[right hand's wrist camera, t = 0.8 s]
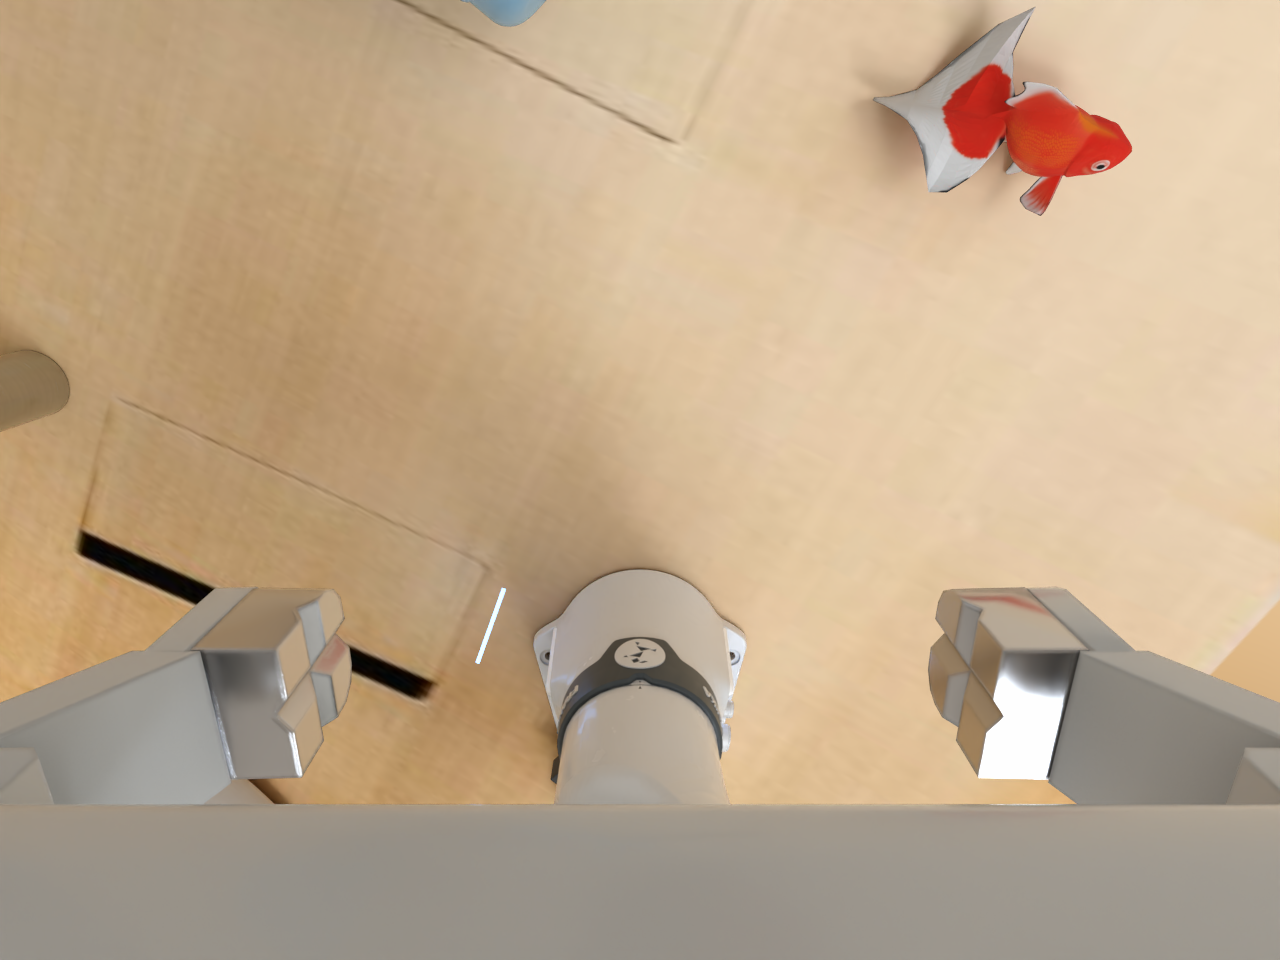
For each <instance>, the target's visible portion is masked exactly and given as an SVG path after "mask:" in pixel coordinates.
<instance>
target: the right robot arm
mask: <svg viewBox="0 0 1280 960" xmlns="http://www.w3.org/2000/svg"><path fill="white" fill-rule="evenodd" d="M505 590H506V589H504V588H502V590H501V593H500V595H499V598H498V601H497V604H496V607H495V610H494V612H493V615H492V618H491V621H490V624H489V626H488V629H487V632H486V635H485V638H484V640H483V643H482V646H481V649H480V652H479V655H478V657H477V660H476V663H478V664H479V663H480V660H481V657H482V654H483V652H484V649H485V646H486V643H487V640H488V638H489V635H490V632H491V629H492V626H493V624H494V621H495V618H496V615H497V612H498V610H499V607H500V604H501V601H502V598H503V596H504V593H505ZM344 619H345V618H344V613H343V608H342V603H341V598H340V596H339V595H338V594H337V592H336V591H335V590H334V589H307V588H258V587H232V588H216V589H214V590H213V591H212V592H211V593H210V594H208V595H207V596H206V597H205V598H204V599H203V600H202V601H200V602H199V603H198V604H197V605H196V606H195V607H194V608H193V609H191V610H190V611H189V612H188V613H187V614H186V615H185V616H183V617H182V618H181V619H180V620H179V621H178V622H177V623H175V624H174V625H173V626H172V627H171V628H170V629H169V630H168V631H166V632H165V633H164V634H163V635H162V636H161V637H160V638H158V639H157V640H156V641H155V642H154V643H153V644H152V645H151V646H149V647H148V648H147V649H146V650H145V651H131V652H128V653H125V654H123V655H120V656H118V657H115V658H113V659H110V660H108V661H105V662H103V663H100V664H98V665H95V666H92V667H90V668H87V669H85V670H82V671H80V672H77V673H75V674H72V675H70V676H67V677H65V678H62V679H59V680H57V681H54V682H52V683H49V684H47V685H44V686H42V687H39V688H37V689H34V690H31V691H29V692H26V693H24V694H21V695H19V696H16V697H14V698H11V699H9V700H6V701H4V702H1V703H0V960H1280V703H1279V702H1276V701H1274V700H1271V699H1268V698H1266V697H1263V696H1261V695H1258V694H1256V693H1253V692H1251V691H1248V690H1246V689H1243V688H1241V687H1238V686H1236V685H1233V684H1230V683H1228V682H1225V681H1223V680H1220V679H1218V678H1215V677H1213V676H1210V675H1208V674H1205V673H1203V672H1200V671H1198V670H1195V669H1193V668H1190V667H1187V666H1185V665H1182V664H1180V663H1177V662H1175V661H1172V660H1170V659H1167V658H1165V657H1162V656H1160V655H1157V654H1155V653H1152V652H1149V651H1135V650H1134V649H1133V648H1132V647H1131V646H1130V645H1128V644H1127V643H1126V642H1125V641H1124V640H1123V639H1122V638H1121V637H1119V636H1118V635H1117V634H1116V633H1115V632H1114V631H1113V630H1111V629H1110V628H1109V627H1108V626H1107V625H1106V624H1105V623H1104V622H1102V621H1101V620H1100V619H1099V618H1098V617H1097V616H1096V615H1094V614H1093V613H1092V612H1091V611H1090V610H1089V609H1088V608H1087V607H1085V606H1084V605H1083V604H1082V603H1081V602H1080V601H1079V600H1078V599H1076V598H1075V597H1074V596H1073V595H1072V594H1071V593H1070V592H1068V591H1067V590H1066V589H1063V588H1059V587H1037V588H1025V587H1020V588H978V589H951V590H945V591H943V593H942V595H941V597H940V599H939V602H938V606H937V612H936V618H935V619H936V621H937V622H938V624H939V625H940V627H941V628H942V630H943V631H944V634H943V635H942V636H941V637H940V638H939V639H938V641H937V642H936V643H935V644H934V645H933V646H932V647H931V650H930V658H929V666H928V673H929V683H930V691H931V694H932V697H933V700H934V703H935V705H936V707H937V709H938V711H939V712H940V714H941V716H942V717H943V718H944V719H946V720H948V721H949V722H951V723H953V724H954V725H956V726H957V727H958V732H957V738H956V741H957V743H958V745H959V746H960V748H961V749H962V751H963V753H964V754H965V756H966V758H967V759H968V761H969V763H970V764H971V766H972V768H973V769H974V771H975V773H976V774H977V776H978V778H1009V779H1046V780H1049V781H1048V783H1050V784H1051V785H1052V786H1054V787H1055V788H1056V789H1058V790H1059V791H1060V792H1062V793H1063V794H1064V795H1066V796H1067V797H1069V798H1070V799H1071V800H1073V801H1074V802H1075V803H1077V804H730V801H729V798H728V794H727V790H726V787H725V783H724V778H723V774H722V769H721V763H720V759H721V755H722V752H726V751H728V749H729V745H730V738H731V730H730V726H729V725H728V724H725V720H726V718H732V716H733V712H734V703H733V701H731V700H732V696H733V693H734V689H735V686H736V682H737V679H738V675H739V672H740V668H741V665H742V662H743V658H744V655H745V651H746V646H747V644H746V636H745V634H744V633H743V632H742V631H741V630H740V629H739V628H737V627H736V626H734V625H733V624H731V623H729V622H728V621H726V620H724V619H722V618H721V617H720V616H719V615H718V614H717V613H716V611H715V610H714V609H713V607H712V606H711V604H710V603H709V602H708V600H707V599H706V598H705V597H704V596H703V595H702V594H701V593H700V592H699V591H698V590H697V589H696V588H695V587H693V586H692V585H690V584H689V583H687V582H686V581H684V580H682V579H680V578H678V577H676V576H673V575H670V574H667V573H664V572H659V571H654V570H642V569H638V570H626V571H621V572H616V573H613V574H610V575H607V576H604V577H602V578H600V579H598V580H596V581H594V582H593V583H591V584H590V585H588V586H587V587H586V588H584V589H583V590H582V591H581V592H580V593H579V594H578V595H577V596H576V597H575V598H574V599H573V600H572V602H571V603H570V604H569V606H568V607H567V609H566V610H565V611H564V613H563V614H562V615H561V616H560V617H559V618H558V619H556V620H554V621H553V622H551V623H549V624H547V625H546V626H544V627H543V628H541V629H540V630H539V631H538V632H537V633H536V634H535V636H534V651H535V654H536V658H537V661H538V665H539V668H540V672H541V675H542V679H543V682H544V686H545V689H546V693H547V696H548V700H549V703H550V707H551V710H552V713H553V717H554V720H555V724H556V727H557V734H558V739H557V748H558V754H559V756H558V757H557V758H556V759H555V760H554V762H553V768H552V775H551V780H552V781H553V782H554V783H556V784H557V786H556V793H555V800H554V804H204V803H205V802H206V801H208V800H209V799H210V798H212V797H213V796H214V795H216V794H217V793H218V792H220V791H221V790H223V789H224V788H225V787H227V786H228V785H229V784H231V780H234V779H269V778H302V776H303V774H304V773H305V771H306V769H307V768H308V766H309V764H310V763H311V761H312V759H313V758H314V756H315V754H316V753H317V751H318V750H319V748H320V746H321V745H322V743H323V741H324V738H323V732H322V727H323V726H324V725H326V724H328V723H329V722H331V721H332V720H334V719H336V718H337V717H338V716H339V714H340V712H341V710H342V709H343V707H344V705H345V703H346V701H347V697H348V693H349V689H350V684H351V668H352V663H351V656H350V649H349V647H348V646H347V645H346V644H345V643H344V642H343V641H342V639H341V638H340V637H339V636H338V635H337V634H336V631H337V630H338V628H339V627H340V625H341V624H342V622H343V621H344ZM547 652H550V656H549V655H547V654H546V653H547ZM730 652H733V653H734V654H733V655H731V656H730Z"/></svg>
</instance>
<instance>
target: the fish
mask: <svg viewBox="0 0 1280 960" xmlns="http://www.w3.org/2000/svg"><path fill="white" fill-rule="evenodd" d="M1034 9H1035V7H1034V8H1032V9H1030V10H1027V11H1025V12H1023V13H1021V14H1019V15H1017V16H1015V17H1013V18H1011V19H1009V20H1007V21H1004V22H1002V23H1000V24H998V25H997V26H996V27H994V28H993V29H992V30H991V31H989V32H988V33H987V34H986V35H984V36H983V37H982V38H980V39H979V40H978V41H977V42H975V43H974V44H973V45H972V46H970V47H969V48H968V49H966V50H965V51H964V52H963V53H961V54H960V55H959V56H958V57H957V58H956V59H954V60H953V61H952V62H951V63H950V64H949V65H947V66H946V67H945V68H944V69H943V70H942V71H940V72H939V73H938V74H937V75H935V76H934V77H933V78H932V79H930V80H929V81H928V82H926V83H925V84H924V85H922V86H921V87H920V88H918V89H917V90H914V91H910V92H906V93H903V94H899V95H895V96H891V97H875V98H874V99H873V100H874V101H876V102H878V103H880V104H882V105H885V106H887V107H888V108H890V109H891V110H893V111H894V112H896V113H897V114H899V115H900V116H902V117H903V118H905V119H906V120H907V121H908V123H909V124H910V126H911V127H912V129H913V131H914V132H915V134H916V136H917V139H918V142H919V145H920V148H921V150H922V153H923V158H924V164H925V171H926V178H927V184H928V191H929V192H948V191H950V190H951V189H953V188H954V187H956V186H958V185H959V184H961V183H962V182H964V181H966V180H967V179H968V178H970V177H971V176H972V175H973V174H974V173H975V172H976V171H978V170H979V169H980V168H981V167H982V166H983V164H984V163H985V162H986V161H987V160H988V159H989V158H990V157H991V155H992V154H993V153H994V152H995V151H996V150H997V148H998V147H999V146H1000V145H1001V144H1002V142H1007V146H1008V150H1009V154H1010V156H1011V158H1012V160H1013V163H1012V164H1011V166H1010V167H1009V168H1008V169H1007V171H1006V173H1007V174H1014V173H1017V172H1020V171H1024V172H1026V173H1028V174H1031V175H1034V176H1040V178H1039V179H1038V180H1037V181H1036V182H1035V183H1034V184H1033V185H1032V187H1031V188H1030V189H1029V190H1028V191H1027V192H1026V193H1024V194H1023V195H1022V196H1021V197H1020V202H1021V203H1022V205H1023V206H1024V207H1025V209H1027V210H1029V211H1031V212H1033V213H1035V214H1038V215H1040V216H1041V215H1042V214H1043V213H1044V212H1045V210H1046V209H1047V207H1048V205H1049V203H1050V201H1051V200H1052V198H1053V195H1054V193H1055V191H1056V189H1057V186H1058V184H1059V182H1060V180H1061V178H1062V176H1063V175H1064V176H1066V177H1072V176H1078V175H1089V174H1095V173H1099V172H1103V171H1106V170H1108V169H1111V168H1112V167H1114V166H1116V165H1117V164H1119V163H1120V162H1122V161H1123V160H1124V159H1125V158H1126V157H1127V156H1128V155H1129V154H1130V153H1131V152H1132V146H1131V144H1130V142H1129V140H1128V139H1127V137H1126V136H1125V134H1124V132H1123V131H1122V129H1121V128H1120V126H1119V125H1118V124H1117V123H1115V122H1112V121H1110V120H1107V119H1105V118H1103V117H1100V116H1097V115H1089V114H1088V113H1087V112H1085V111H1084V110H1083V109H1081V108H1080V107H1078V106H1076V105H1074V104H1073V103H1072V102H1071V101H1070V100H1069V99H1068V98H1067V97H1066V96H1065V95H1064V94H1062V93H1061V92H1060V91H1059V90H1058V89H1057V88H1056V87H1052V86H1049V85H1046V84H1041V83H1033V82H1023V85H1024V87H1025V90H1024V91H1023V92H1022V93H1021V94H1019V95H1016V96H1015V92H1014V86H1013V51H1014V49H1015V47H1016V45H1017V43H1018V41H1019V39H1020V36H1021V34H1022V32H1023V30H1024V28H1025V26H1026V24H1027V22H1028V20H1029V18H1030V17H1031V15H1032V13H1033V11H1034Z"/></svg>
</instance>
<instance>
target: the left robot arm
mask: <svg viewBox="0 0 1280 960" xmlns="http://www.w3.org/2000/svg"><path fill="white" fill-rule="evenodd" d="M461 1H463V2H470V3H471V4H473V5H474V6H475V7H476V8H478V9H479V10H480V11H481V12H482V13H484V14H485V15H486V16H487V17H489V18H490V19H491V20H492V21H493V22H495V23H497V24H499V25H501V26H507V27H511V26H516V25H519V24H521V23H523V22H525V21H526V20H527V19H529V18H530V17H531V16H532V15H533V14H534V13H535V12H536V11H537V10H538V9H539V8H540V7H541V6H542V4H543V3H544V2H545V1H546V0H461Z"/></svg>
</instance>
